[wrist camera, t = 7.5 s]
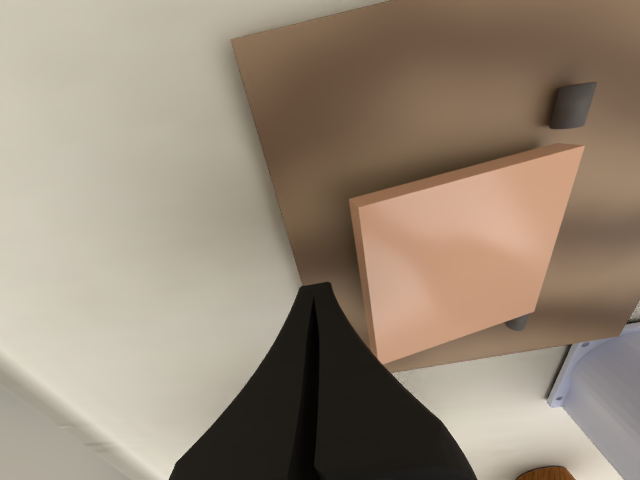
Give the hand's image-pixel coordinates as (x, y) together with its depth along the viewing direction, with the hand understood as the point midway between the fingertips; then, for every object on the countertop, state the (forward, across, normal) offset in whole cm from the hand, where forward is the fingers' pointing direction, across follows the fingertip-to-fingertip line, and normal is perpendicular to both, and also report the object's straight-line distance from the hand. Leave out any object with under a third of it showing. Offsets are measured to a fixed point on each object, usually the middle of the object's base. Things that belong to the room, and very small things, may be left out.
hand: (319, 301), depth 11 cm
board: (+3, -9, 0) cm, 10 cm away
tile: (+2, -11, 0) cm, 11 cm away
